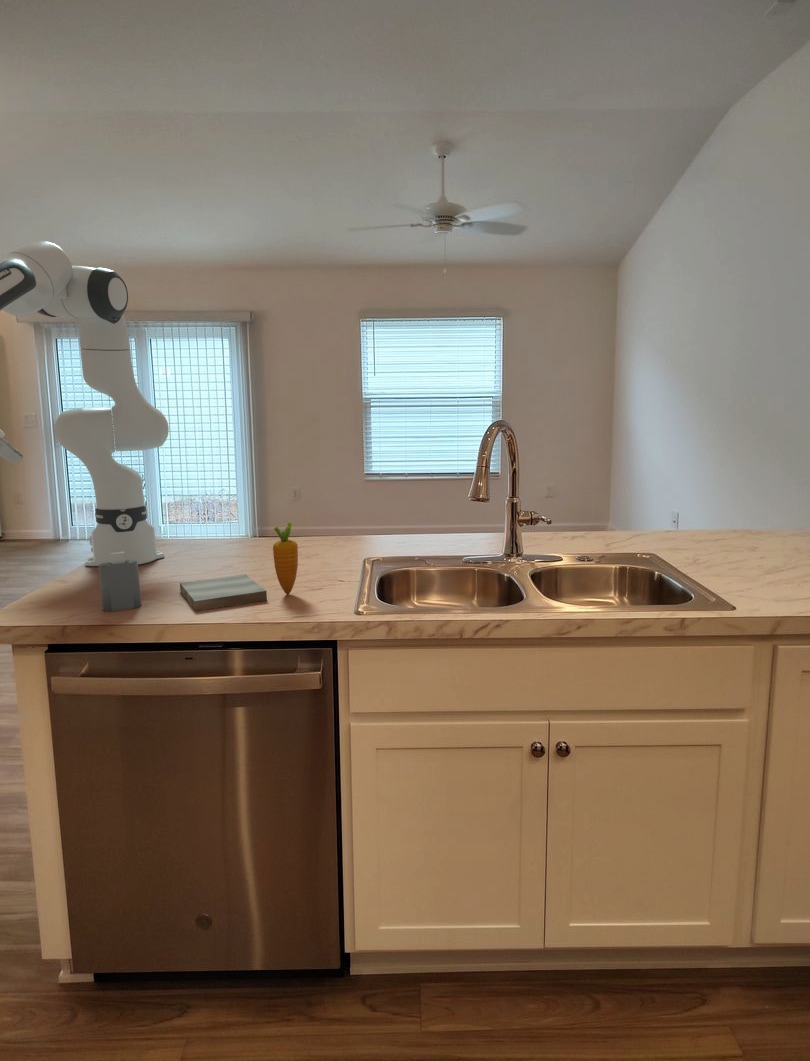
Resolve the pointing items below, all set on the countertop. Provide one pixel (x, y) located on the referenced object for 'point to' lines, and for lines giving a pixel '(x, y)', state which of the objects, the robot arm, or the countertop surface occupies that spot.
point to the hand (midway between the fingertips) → (20, 461)
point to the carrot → (285, 559)
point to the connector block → (119, 583)
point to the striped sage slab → (222, 592)
